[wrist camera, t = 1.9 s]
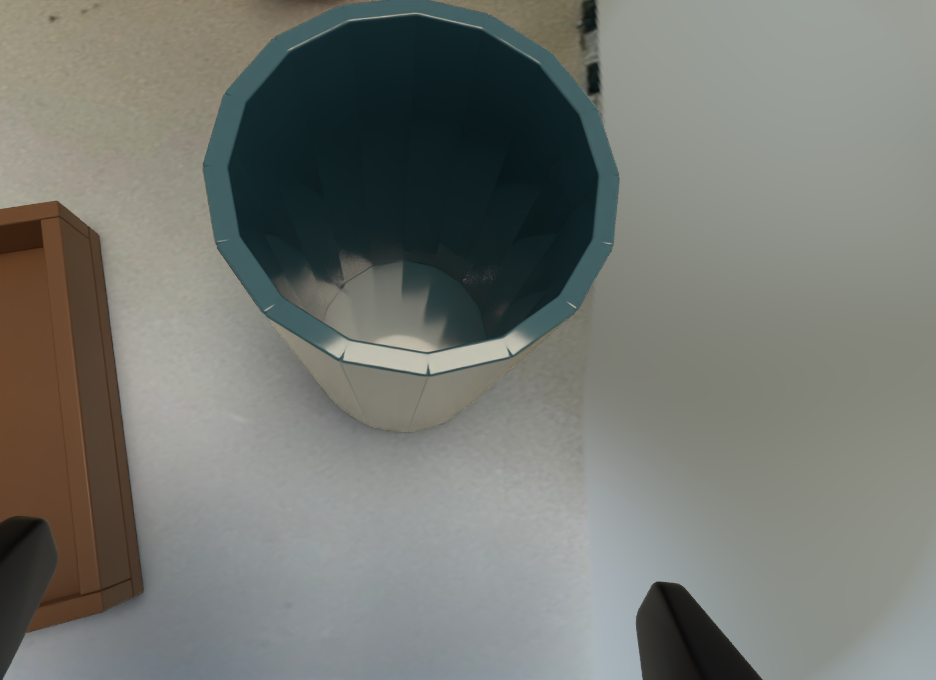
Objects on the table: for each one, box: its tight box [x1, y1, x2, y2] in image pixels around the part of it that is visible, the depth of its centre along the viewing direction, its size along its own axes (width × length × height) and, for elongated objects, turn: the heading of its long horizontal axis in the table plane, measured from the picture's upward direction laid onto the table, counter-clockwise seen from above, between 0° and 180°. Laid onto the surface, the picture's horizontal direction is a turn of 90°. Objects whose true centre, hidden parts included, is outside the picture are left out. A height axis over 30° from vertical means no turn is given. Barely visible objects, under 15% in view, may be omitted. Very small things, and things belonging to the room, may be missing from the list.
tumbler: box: [203, 0, 619, 432], centre depth 16 cm, size 7×7×13 cm
